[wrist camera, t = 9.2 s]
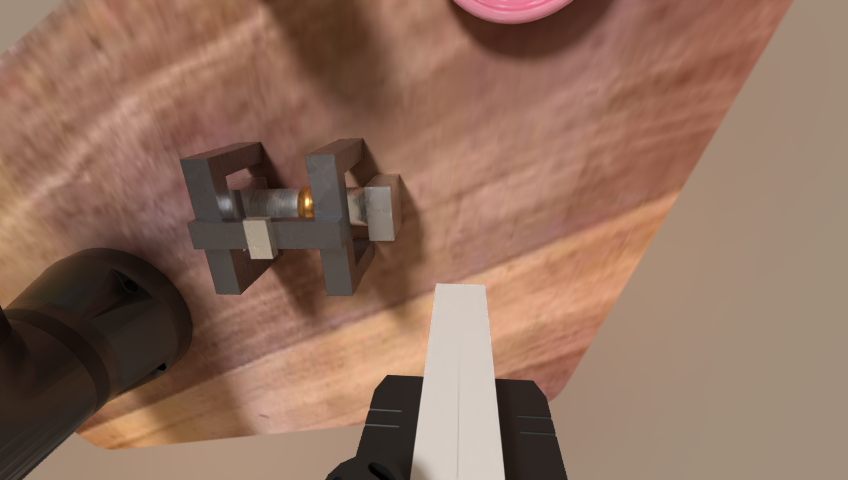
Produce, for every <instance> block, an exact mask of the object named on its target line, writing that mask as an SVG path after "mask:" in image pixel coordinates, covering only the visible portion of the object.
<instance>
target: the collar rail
mask: <svg viewBox="0 0 848 480" xmlns="http://www.w3.org/2000/svg"><path fill="white" fill-rule="evenodd" d="M364 158H365V156H364V146H363V138H358V139H339V140H337V141H334V142H332V143H330V144H328V145H326V146H324V147H322V148H320V149H318V150H315V151H313V152H311V153H309V154H307V155H305V159H306V165H307V171H308V178H309V184H310V190H311V197H312V203H313V209H314V215H315V217H280V218H271V217H248V218H235V215H234V211H233V207H232V203H231V198H230V194H229V190H228V186H227V181H226V177H225V176H227V175H230V174H232V173H235V172H237V171H240V170H242V169H245V168H247V167H250V166H252V165H254V164H257V163H259V162H262V161H264V158H263V153H262V148H261V143H260V142H245V143H236V144H232V145H229V146H225V147H222V148H218V149H214V150H211V151H207V152H204V153H200V154H197V155H193V156H190V157H186V158H183V159H180V163H181V167H182V170H183V174H184V177H185V181H186V185H187V188H188V192H189V196H190V199H191V203H192V206H193V210H194V214H195V217H196V219H194V220H192V221H190V222H188V223H187V225H188V229H189V232H190V236H191V239H192V243H193V246H194V249H204V250H205V254H206V257H207V261H208V264H209V268H210V272H211V275H212V279H213V283H214V286H215V290H216V293H217V294H230V295H241V294H242V293H243V292H244V291H245V290H246V289H247V288H248V287H249V286H250V285H251V284H252V283H253V282H254V281H256V280H257V279H258V278H259V277H260V276H261V275H262V274H263V273H264V272H265V271H266V270H267V269H268V268H269V267H270V266H271V265H272V264H273V263H274V262H276V261H277V260H278V259H279V258H280V257H281V256H282V255H283V254H282V249H320V253H321V260H322V266H323V272H324V279H325V285H326V291H327V296H353V294H354V293H355V291H356V289H357V287H358V285H359V283H360V281H361V279H362V278H363V276H364V274H365V272H366V270H367V268H368V266H369V264H370V263H371V261H372V259H373V257H374V255H375V253H374V243H373V241H369V239H352V232H351V224H350V216H349V208H348V199H347V191H346V183H345V175H344V173H345V172H347V171H348V170H349V169H351V168H352V167H353V166H354V165H356V164H357V163H358V162H360V161H361V160H362V159H364ZM243 249H246V250H245V251H244V252H243Z"/></svg>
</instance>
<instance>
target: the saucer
mask: <svg viewBox="0 0 848 480" xmlns="http://www.w3.org/2000/svg"><path fill="white" fill-rule="evenodd" d="M453 1H454V2H455V3H456V4H457V5H459V6H460V7H461V8H463V9H464V10H465V11H467V12H468V13H470V14H472V15H474V16H476V17H478V18H481V19H483V20H486V21H490V22H494V23H500V24H521V23H527V22H531V21H535V20H538V19H541V18H544V17H546V16H549V15H551V14H553V13H555V12H557V11H559V10H560V9H562V8H563V7H565V6H567V5H568V4H569V3H571V2H572V1H573V0H453Z"/></svg>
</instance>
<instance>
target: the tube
mask: <svg viewBox="0 0 848 480" xmlns="http://www.w3.org/2000/svg"><path fill="white" fill-rule="evenodd" d="M227 186H228V190H229V194H230V198H231V203H232V207H233V211H234V215H235V218H248V217H271V218H280V217H315V215H314V209H313V203H312V197H311V190H310V186H305V187H302V188H293V189H268V185H267V180H266V177H245V178H242V179H240V180H238V181H236V182H233V183H231V184H229V185H227ZM346 191H347V199H348V208H349V216H350V224H351V226H368V231H369V241H394V240H395V238H396V236H397V234H398V231H399V229H400V227H401V225H402V223H403V220H402V206H401V192H400V178H399V174H376V175H375V176H374V177H373V178H372V179H371V180H370V181H369V182H368V183H367V184H366V185H365V186H364V187H346Z"/></svg>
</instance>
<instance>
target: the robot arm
mask: <svg viewBox="0 0 848 480" xmlns="http://www.w3.org/2000/svg"><path fill="white" fill-rule="evenodd" d="M191 337H192V325H191V319H190V315H189V312H188V309H187V307H186V305H185V303H184V301H183V299H182V297H181V296H180V294H179V293H178V291H177V290H176V289H175V287H174V286H173V285H172V284H171V283H170V281H169V280H168V279H167V278H166V277H165V276H163V275H162V274H161V273H160V272H159V271H158V270H156V269H155V268H154V267H152V266H151V265H149V264H148V263H146V262H145V261H143V260H141V259H139V258H137V257H135V256H133V255H130V254H128V253H125V252H122V251H118V250H113V249H107V248H92V249H86V250H83V251H80V252H77V253H75V254H73V255H71V256H68V257H66V258H64V259H62V260H59V261H58V262H56V263H54V264H53V265H51V266H50V267H49V268H47V269H46V270H45V271H44V272H43V273H42V274H41V275H40V276H39V277H38V278H37V279H36V280H35V281H34V282H33V283H32V284H30V285H29V286H28V287H27V288H26V289H25V290H24V291H23V292H22V293H21V294H20V295H19V296H18V297H17V298H16V299H15V300H14V301H13V302H12V303H11V304H9V305H8V306H7V307H6V308H5V309H3V310H2V308H1V306H0V480H23V479H24V478H25V477H26V476H27V475H28V474H29V473H30V472H31V471H32V470H33V469H34V468H36V467H37V466H38V465H39V464H40V463H41V462H42V461H43V460H44V459H45V458H47V457H48V456H49V455H50V454H51V453H52V452H53V451H54V450H55V449H56V448H57V447H58V446H60V445H61V444H62V443H63V442H64V441H65V440H66V439H67V438H68V437H70V436H71V435H72V434H73V433H74V432H75V431H76V430H77V429H78V428H80V427H81V426H82V425H83V424H84V423H85V422H86V421H87V420H88V419H89V418H90V417H92V416H93V415H94V414H95V413H96V412H97V411H98V410H99V409H100V408H102V407H103V406H104V405H105V404H106V403H108V402H109V401H111V400H113V399H115V398H117V397H119V396H121V395H123V394H126V393H128V392H130V391H132V390H134V389H136V388H138V387H140V386H142V385H144V384H146V383H148V382H150V381H152V380H154V379H156V378H158V377H160V376H161V375H163V374H164V373H165V372H167V371H168V370H169V369H170V368H171V367H172V366H173V365H174V364H175V363H176V362H177V361H178V360H179V359H180V358H182V357H183V355H184V354H185V353H186V351H187V349H188V347H189V345H190V342H191ZM325 480H568V479H567V475H566V471H565V468H564V464H563V460H562V456H561V452H560V448H559V445H558V441H557V437H556V436H555V429H554V425H553V421H552V420H551V414H550V410H549V406H548V402H547V398H546V396H545V395H544V394H543V392H542V391H541V390H540V389H539V387H538V386H537V385H536V384H535V382H534V381H530V380H509V379H495V378H494V368H493V358H492V349H491V339H490V329H489V320H488V310H487V300H486V290H485V285H469V284H436V289H435V297H434V304H433V312H432V319H431V327H430V334H429V342H428V349H427V357H426V364H425V372H424V377H419V376H399V375H387V376H386V377H385V378H384V379H383V381H382V382H381V383H380V384H379V385H378V386H377V388H376V389H375V390H374V394H373V398H372V401H371V405H370V410H369V412H368V415H367V419H366V422H365V427H364V429H363V433H362V436H361V440H360V443H359V447H358V450H357V454H356V457H354V458H351V459H349V460H347V461H345V462H343V463H341V464H339V465H338V466H337V467H336V468H335V469H334V470H333V471H332V472H331V473H330V474H328V476H327V478H326V479H325Z"/></svg>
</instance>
